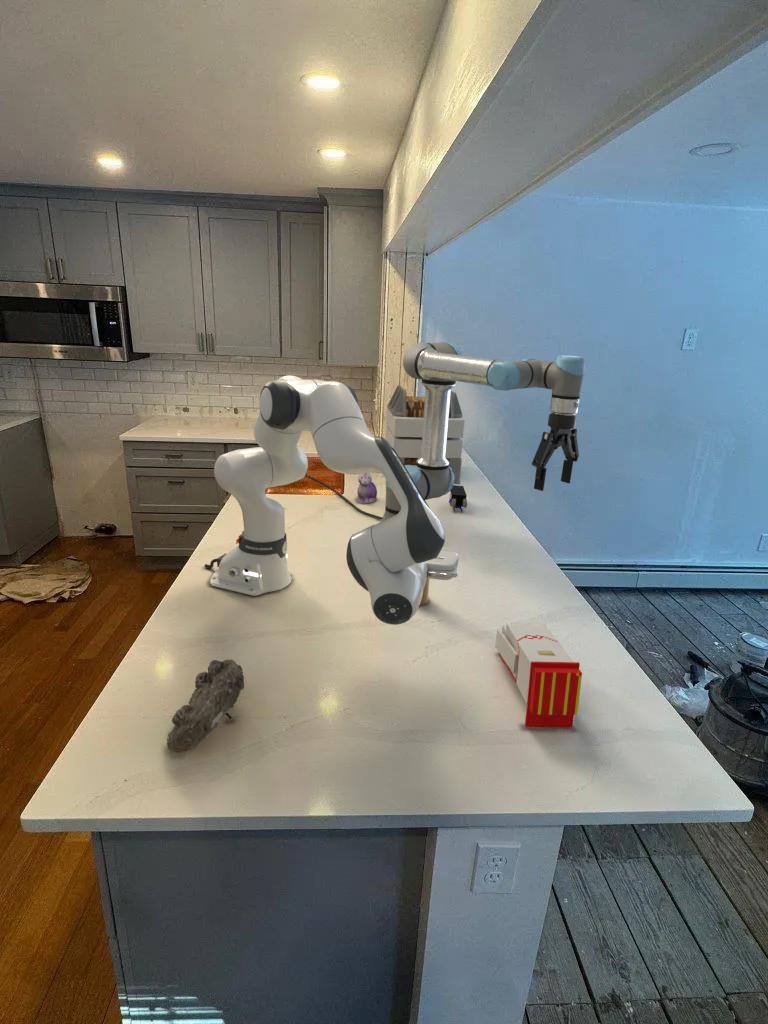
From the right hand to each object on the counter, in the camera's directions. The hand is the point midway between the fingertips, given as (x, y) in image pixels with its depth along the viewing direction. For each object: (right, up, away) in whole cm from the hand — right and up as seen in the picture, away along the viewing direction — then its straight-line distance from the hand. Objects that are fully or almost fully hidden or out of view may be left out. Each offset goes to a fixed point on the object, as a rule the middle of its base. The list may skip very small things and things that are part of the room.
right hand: (552, 485), depth 166 cm
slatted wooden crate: (-32, +11, +109) cm, 115 cm away
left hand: (-42, -15, -38) cm, 59 cm away
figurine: (-56, -3, +67) cm, 88 cm away
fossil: (-82, -47, -57) cm, 110 cm away
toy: (-18, -45, -44) cm, 65 cm away
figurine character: (-20, -6, +64) cm, 67 cm away
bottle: (-40, -32, -11) cm, 52 cm away
